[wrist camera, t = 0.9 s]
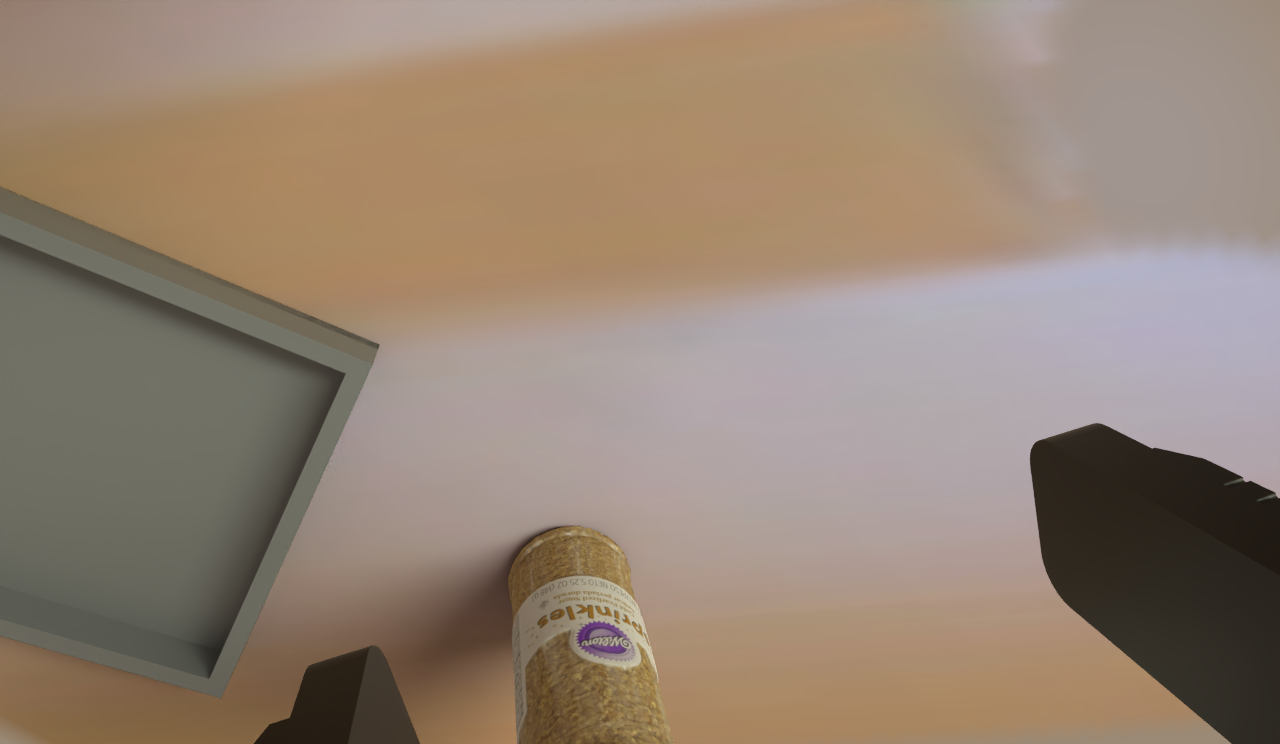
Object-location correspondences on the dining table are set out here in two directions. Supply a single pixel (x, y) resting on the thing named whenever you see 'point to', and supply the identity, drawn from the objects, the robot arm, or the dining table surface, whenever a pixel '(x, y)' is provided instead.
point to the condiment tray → (152, 447)
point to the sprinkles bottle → (581, 645)
